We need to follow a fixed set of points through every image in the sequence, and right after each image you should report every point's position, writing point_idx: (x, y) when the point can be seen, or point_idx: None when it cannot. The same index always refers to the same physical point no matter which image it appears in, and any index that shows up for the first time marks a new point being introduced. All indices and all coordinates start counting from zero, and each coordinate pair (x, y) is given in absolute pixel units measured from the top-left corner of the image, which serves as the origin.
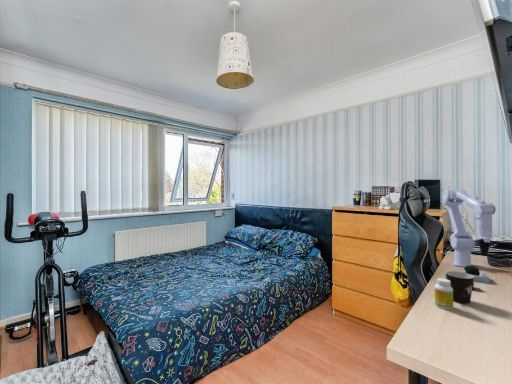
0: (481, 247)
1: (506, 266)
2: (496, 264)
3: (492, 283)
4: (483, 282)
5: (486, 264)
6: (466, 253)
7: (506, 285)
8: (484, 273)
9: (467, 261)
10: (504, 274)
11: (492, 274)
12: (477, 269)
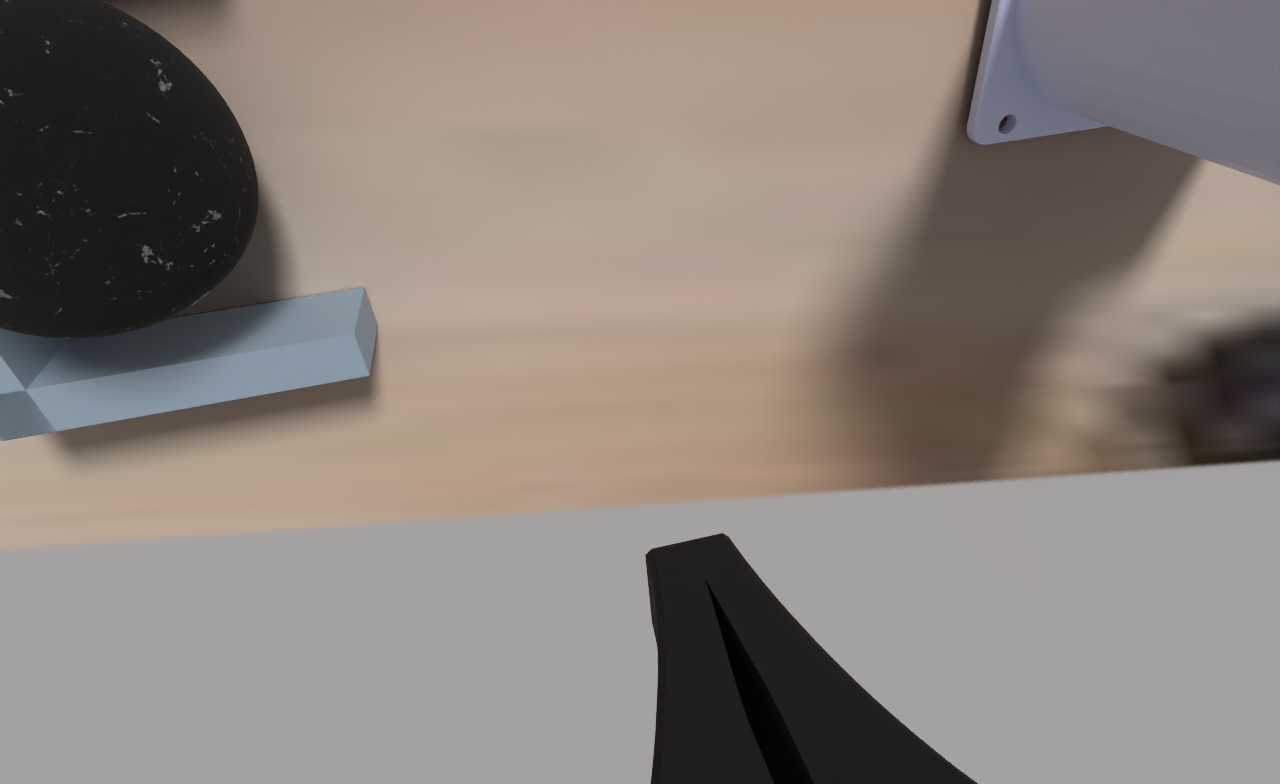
0: (661, 770)
1: (1186, 461)
2: (1263, 385)
3: None
4: None
5: (1249, 298)
6: (1271, 104)
7: (198, 528)
8: (311, 364)
9: (1089, 79)
10: (793, 473)
11: (704, 381)
12: (16, 330)
